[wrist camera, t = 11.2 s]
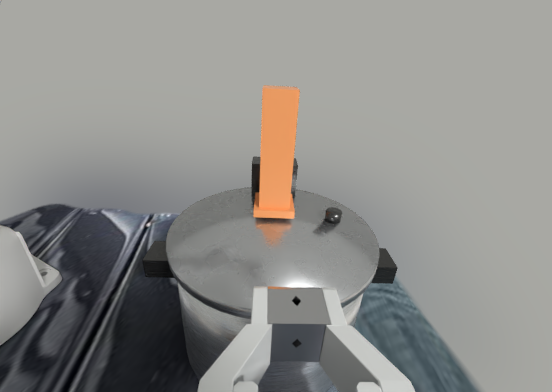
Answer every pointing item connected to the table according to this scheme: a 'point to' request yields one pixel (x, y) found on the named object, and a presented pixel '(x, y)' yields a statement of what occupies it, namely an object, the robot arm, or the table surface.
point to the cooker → (263, 269)
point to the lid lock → (277, 152)
